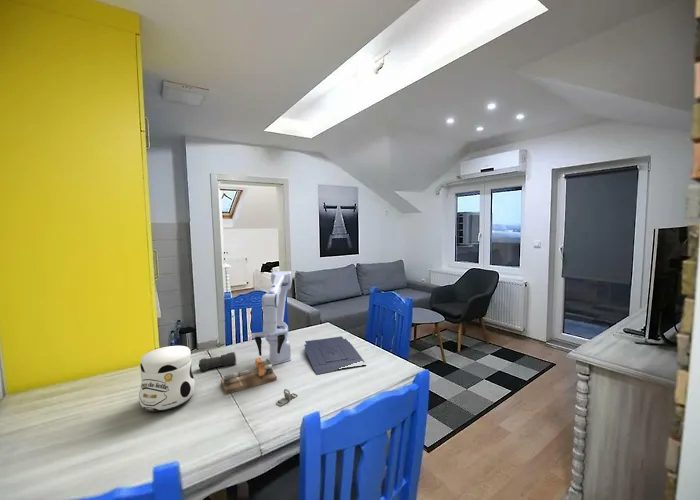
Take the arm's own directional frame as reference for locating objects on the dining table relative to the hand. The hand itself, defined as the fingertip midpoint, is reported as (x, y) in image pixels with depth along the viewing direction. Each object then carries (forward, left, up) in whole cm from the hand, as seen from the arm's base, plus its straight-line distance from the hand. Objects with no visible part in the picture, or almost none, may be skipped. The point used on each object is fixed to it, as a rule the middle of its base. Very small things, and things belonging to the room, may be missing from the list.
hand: (269, 354), depth 127 cm
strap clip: (0, +21, -10) cm, 23 cm away
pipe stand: (+9, 0, -10) cm, 13 cm away
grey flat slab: (-32, -2, -10) cm, 34 cm away
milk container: (+37, -1, -10) cm, 38 cm away
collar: (+4, 0, -7) cm, 8 cm away
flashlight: (+17, -21, -10) cm, 29 cm away
